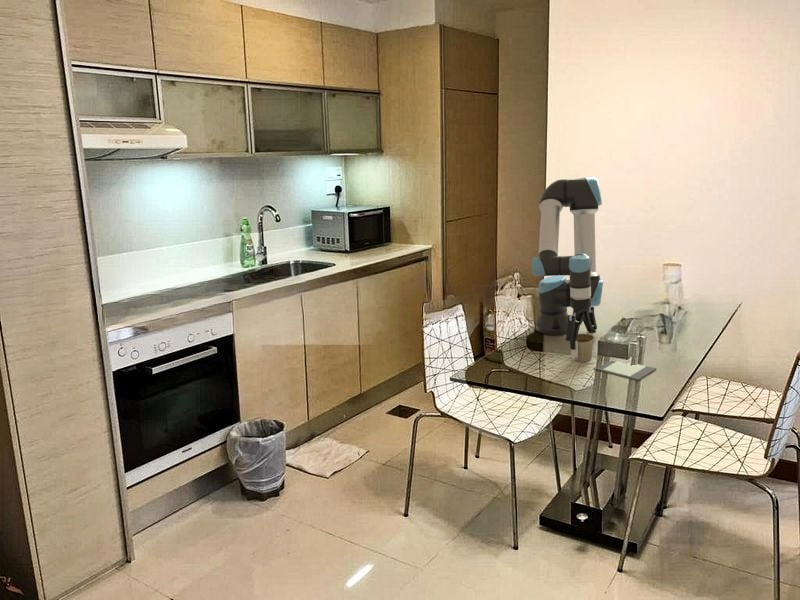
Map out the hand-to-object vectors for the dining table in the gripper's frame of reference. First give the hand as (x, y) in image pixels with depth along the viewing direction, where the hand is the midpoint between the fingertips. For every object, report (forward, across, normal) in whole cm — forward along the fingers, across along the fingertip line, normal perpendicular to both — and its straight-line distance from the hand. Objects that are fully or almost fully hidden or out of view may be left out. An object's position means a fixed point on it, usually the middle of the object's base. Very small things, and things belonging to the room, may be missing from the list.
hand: (582, 352), depth 254 cm
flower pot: (+3, 0, 0) cm, 3 cm away
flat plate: (+3, 0, +18) cm, 18 cm away
